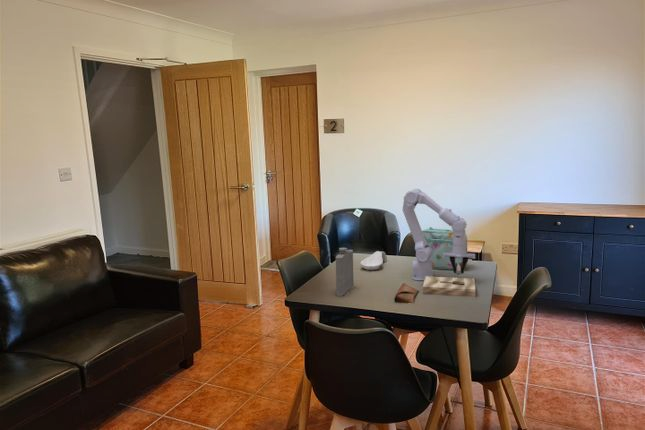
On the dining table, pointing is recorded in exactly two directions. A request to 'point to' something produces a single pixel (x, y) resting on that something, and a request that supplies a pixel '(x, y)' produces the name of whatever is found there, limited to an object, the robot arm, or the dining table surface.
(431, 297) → the dining table surface
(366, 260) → the spoon rest
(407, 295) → the sunglasses case
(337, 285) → the hip flask
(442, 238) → the lunch box
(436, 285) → the keyhole plate
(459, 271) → the peg
